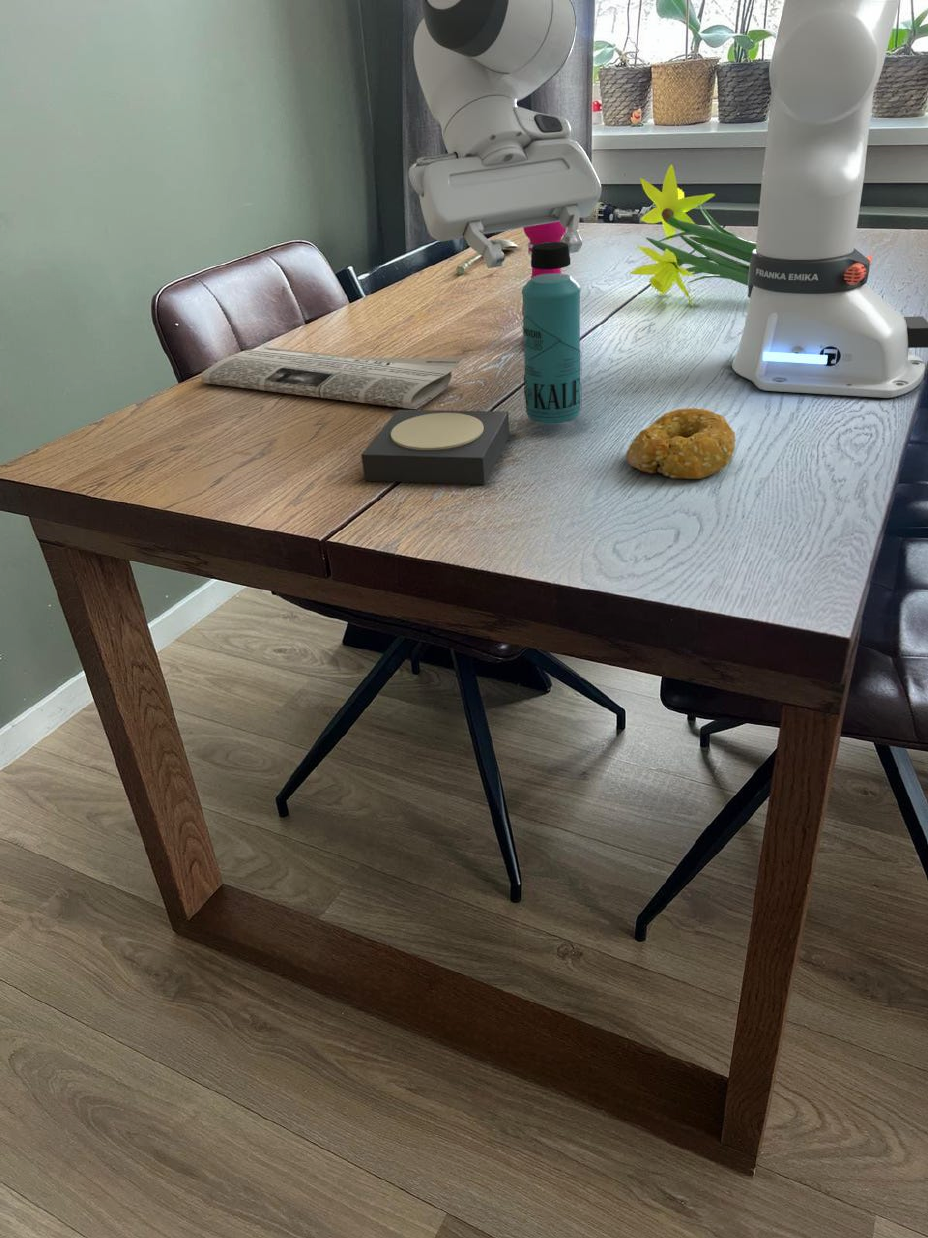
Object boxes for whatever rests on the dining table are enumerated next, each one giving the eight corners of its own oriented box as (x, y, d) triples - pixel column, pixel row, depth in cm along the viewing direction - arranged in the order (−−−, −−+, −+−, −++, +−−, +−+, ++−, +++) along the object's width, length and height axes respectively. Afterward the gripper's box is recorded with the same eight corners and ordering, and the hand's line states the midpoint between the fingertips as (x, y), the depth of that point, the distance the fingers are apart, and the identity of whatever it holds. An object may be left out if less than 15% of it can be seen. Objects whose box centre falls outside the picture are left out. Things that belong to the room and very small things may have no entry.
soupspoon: (523, 252, 190) (494, 253, 193) (522, 234, 189) (493, 235, 192) (475, 274, 174) (444, 275, 177) (473, 255, 172) (442, 255, 175)
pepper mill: (570, 347, 133) (568, 194, 123) (519, 348, 135) (513, 196, 124) (575, 332, 139) (574, 184, 129) (527, 333, 141) (521, 187, 130)
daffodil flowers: (810, 335, 133) (588, 255, 143) (809, 359, 147) (607, 285, 157) (866, 218, 130) (637, 145, 141) (860, 255, 144) (652, 186, 155)
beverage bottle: (546, 412, 113) (541, 234, 102) (593, 422, 109) (593, 238, 98) (513, 430, 109) (505, 247, 98) (561, 441, 105) (558, 252, 94)
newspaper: (203, 385, 131) (197, 360, 129) (260, 358, 140) (255, 334, 138) (421, 413, 116) (418, 385, 114) (469, 381, 125) (467, 354, 123)
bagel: (616, 450, 102) (617, 407, 99) (717, 440, 102) (721, 397, 99) (637, 488, 93) (638, 443, 91) (747, 478, 94) (752, 432, 91)
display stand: (509, 436, 107) (508, 408, 106) (484, 485, 97) (482, 455, 95) (400, 434, 110) (397, 406, 109) (364, 480, 100) (360, 451, 98)
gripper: (408, 138, 97) (455, 253, 95) (579, 116, 104) (627, 223, 102) (397, 181, 103) (441, 290, 101) (560, 157, 110) (605, 259, 108)
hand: (536, 256), depth 101 cm, fingers open, 8 cm apart
